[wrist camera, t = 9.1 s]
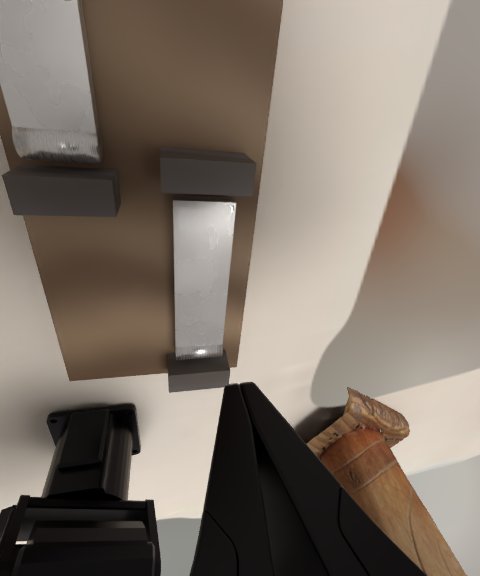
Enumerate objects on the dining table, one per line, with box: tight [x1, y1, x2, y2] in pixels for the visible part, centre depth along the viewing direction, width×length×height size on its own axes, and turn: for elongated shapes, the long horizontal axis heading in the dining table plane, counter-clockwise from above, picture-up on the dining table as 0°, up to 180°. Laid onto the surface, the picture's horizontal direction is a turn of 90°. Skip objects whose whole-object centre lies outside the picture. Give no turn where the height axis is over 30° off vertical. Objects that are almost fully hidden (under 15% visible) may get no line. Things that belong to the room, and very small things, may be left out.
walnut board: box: [0, 0, 283, 392], centre depth 15 cm, size 27×12×4 cm, turn 174°
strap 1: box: [173, 195, 236, 360], centre depth 18 cm, size 11×3×1 cm, turn 174°
